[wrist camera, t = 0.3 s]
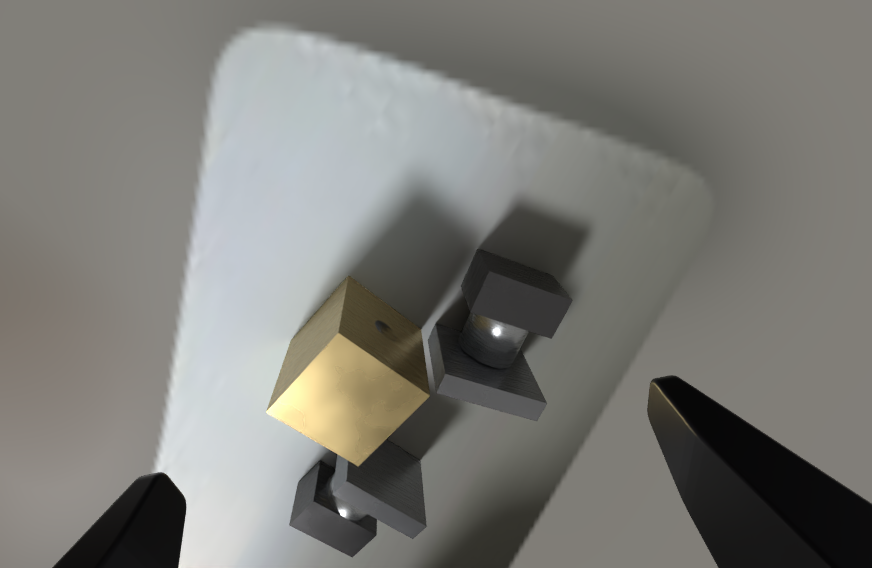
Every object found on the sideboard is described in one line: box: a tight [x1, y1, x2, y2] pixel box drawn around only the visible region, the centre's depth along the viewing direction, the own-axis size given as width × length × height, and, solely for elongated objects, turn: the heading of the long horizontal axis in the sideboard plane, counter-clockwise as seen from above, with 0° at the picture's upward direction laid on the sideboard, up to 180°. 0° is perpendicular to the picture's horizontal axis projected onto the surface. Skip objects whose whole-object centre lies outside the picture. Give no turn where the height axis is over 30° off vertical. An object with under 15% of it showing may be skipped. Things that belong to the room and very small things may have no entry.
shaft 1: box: [428, 249, 572, 421], centre depth 22 cm, size 5×5×4 cm
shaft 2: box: [289, 439, 426, 557], centre depth 26 cm, size 5×5×4 cm
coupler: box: [266, 276, 430, 466], centre depth 22 cm, size 4×4×6 cm
